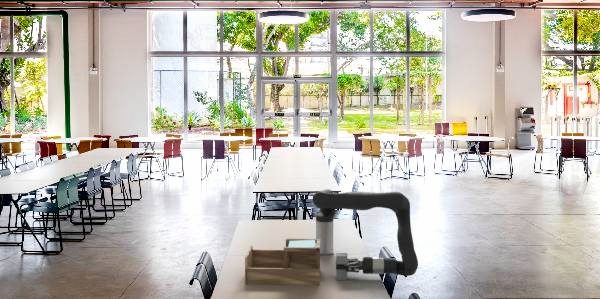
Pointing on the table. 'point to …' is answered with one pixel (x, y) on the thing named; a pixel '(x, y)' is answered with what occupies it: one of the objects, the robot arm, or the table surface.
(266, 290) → the table surface
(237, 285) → the table surface
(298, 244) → the trapdoor
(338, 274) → the granite stone
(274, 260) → the trapdoor frame
